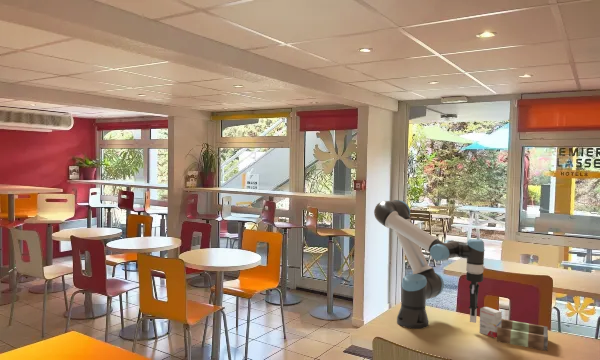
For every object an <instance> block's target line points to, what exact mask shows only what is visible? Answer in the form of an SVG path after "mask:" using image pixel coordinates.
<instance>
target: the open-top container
mask: <svg viewBox="0 0 600 360" xmlns="http://www.w3.org/2000/svg"><path fill="white" fill-rule="evenodd" d="M548 330H549V327H548V326H545V325H540V324H534V323H527V322H524V321H523V322H522V321H518V320H517V321H515V320H510V319H503V318H502V323H501V328H500V327H498V328H497V338H496V342H497V343H505V344H509V345H514V346H520V347H523V348H530V349H534V350H535V349H536V350H539V351H545V350H546V351H545V352H548V345H549V343H548V342H549V333H548Z"/></svg>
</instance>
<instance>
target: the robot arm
mask: <svg viewBox="0 0 600 360" xmlns="http://www.w3.org/2000/svg"><path fill="white" fill-rule="evenodd" d="M373 213H374V217H375V219H376V220H377V222H378V223H379V224H381V225H383V226H384V227H386V228H387V229H389V228H390V229H391V230H394V232H395V234H396V236H397V239H398V241H399V243H400V245H401V248H402V250H403V252H404V255H405V257H406V259H407V261H408V264H409V266H410V267H411V270H412V274H411V273H410V274H406V275H404V276H403V278H402V280H401V296H400V297H401V299H400V300H401V302H400V309H399V311H398V314H397V317H396V323H397V324H398V325H399V326H401V327H404V328H407V329H413V330H414V329H416V330H417V329H419V330H420V329H425V328H426V329H427V328H428V327H429V317H428V315H427V314H428V313H427V310H426V305H427V304H426V303H427V302H426V301H427V300H428V299H432V298H437V296H439V295H441V294H442V293H443V291H444V288H445V283H444V279H443V277H442V276H441V274H438V273H437V272H435V269H434V267H433V266H430V265H429V264H428V261H427V260H426V257H425V255H424V253H423V250H425V251H426V252H428V253H429V254H430V255H429V256H431V258H432V259H433V260H434V261H439V262H440V261H441V262H443V261H446V260H449V259H453V258H461V259H462V258H463V259H466V275H465V276H466V277H465V280H466V281H468V282H470V283H469V287H468V288H469V306H468V309H469V311H470V312H469V322H470V323H475V324H477V313H478V312H477V309H479V306H478V297H479V288H480V284H479V283H482V282H483V281H484V269H485V268H486V267H485V266H484V263H485V261H484V260H485V251H486V250H485V242H484V240H482V239H477V238H469V239H467V242H464V241H457V240H453V239H451V240H450V239H448V240H447V239H446V240H444V242H443V241H441V240H439V239H438V238H436V237H435V236H433V235H431V234H430V233H429V232H427V231H425V230H424V229H422V228H420V226H419V227H418V226H417V225H415V224H414V223H412V221H411V220H412V219H411V208H410V206H409V204H408V203H406V202H405V201H403V200H398V199H394V200H383V201H380V202H378V203H377V204H376V205H375V208H374V211H373ZM422 249H423V250H422Z"/></svg>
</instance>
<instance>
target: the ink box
mask: <svg viewBox="0 0 600 360" xmlns="http://www.w3.org/2000/svg"><path fill="white" fill-rule="evenodd" d="M502 315H503V313H502V311H501V310H497V309H494V308H492V307H489V306H483V307H480V308H479V333H480V334H482V335H485V336H489V337H491V338H494V339H497V328H498V327H500V328H501V323H502V319H503V318H502Z"/></svg>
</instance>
